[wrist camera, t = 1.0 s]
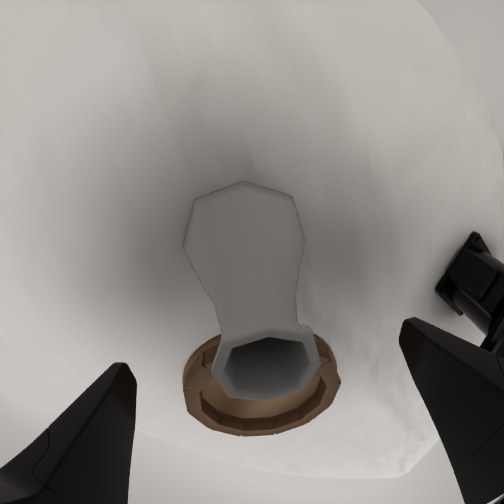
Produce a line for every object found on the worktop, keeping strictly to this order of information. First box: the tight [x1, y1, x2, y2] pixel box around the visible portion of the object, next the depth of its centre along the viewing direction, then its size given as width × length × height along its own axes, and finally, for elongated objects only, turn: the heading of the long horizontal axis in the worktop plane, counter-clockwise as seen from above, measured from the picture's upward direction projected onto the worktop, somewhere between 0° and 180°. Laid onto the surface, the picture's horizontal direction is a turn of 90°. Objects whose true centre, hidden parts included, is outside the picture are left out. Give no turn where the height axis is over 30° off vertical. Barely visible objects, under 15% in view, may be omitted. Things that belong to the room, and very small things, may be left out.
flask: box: [183, 181, 321, 401], centre depth 12 cm, size 7×7×10 cm
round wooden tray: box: [183, 334, 341, 436], centre depth 21 cm, size 13×13×2 cm
